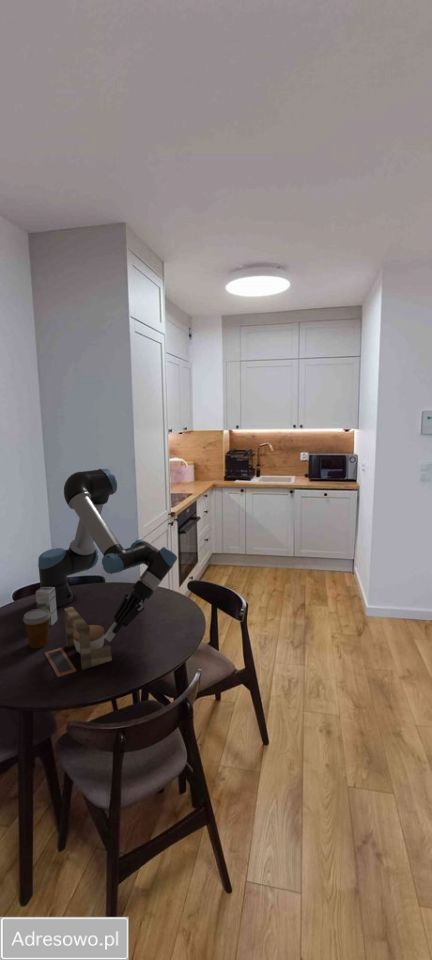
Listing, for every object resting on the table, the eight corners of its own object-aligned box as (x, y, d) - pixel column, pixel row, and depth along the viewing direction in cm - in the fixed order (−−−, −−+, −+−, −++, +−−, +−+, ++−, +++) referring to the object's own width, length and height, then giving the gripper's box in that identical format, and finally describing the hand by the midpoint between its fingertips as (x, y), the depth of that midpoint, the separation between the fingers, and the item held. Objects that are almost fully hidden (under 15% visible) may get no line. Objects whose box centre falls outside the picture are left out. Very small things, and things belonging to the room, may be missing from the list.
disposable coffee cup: (30, 653, 161) (27, 622, 159) (21, 643, 168) (18, 613, 166) (57, 644, 167) (54, 613, 165) (47, 635, 174) (44, 605, 172)
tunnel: (66, 646, 165) (63, 608, 163) (93, 638, 171) (91, 601, 169) (82, 669, 150) (80, 628, 148) (111, 660, 155) (109, 620, 153)
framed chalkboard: (44, 653, 161) (44, 652, 161) (61, 648, 164) (61, 647, 164) (57, 677, 146) (57, 676, 146) (76, 671, 149) (76, 670, 149)
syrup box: (58, 619, 187) (55, 586, 185) (51, 626, 181) (48, 592, 179) (44, 619, 187) (42, 586, 185) (37, 626, 182) (35, 591, 179)
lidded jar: (93, 641, 168) (91, 617, 167) (111, 650, 162) (110, 625, 160) (68, 654, 160) (66, 629, 158) (86, 663, 153) (84, 638, 152)
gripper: (161, 595, 167) (120, 651, 160) (146, 584, 177) (107, 637, 171) (147, 585, 163) (105, 642, 156) (132, 574, 174) (93, 627, 167)
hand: (106, 639), depth 164 cm, fingers closed
